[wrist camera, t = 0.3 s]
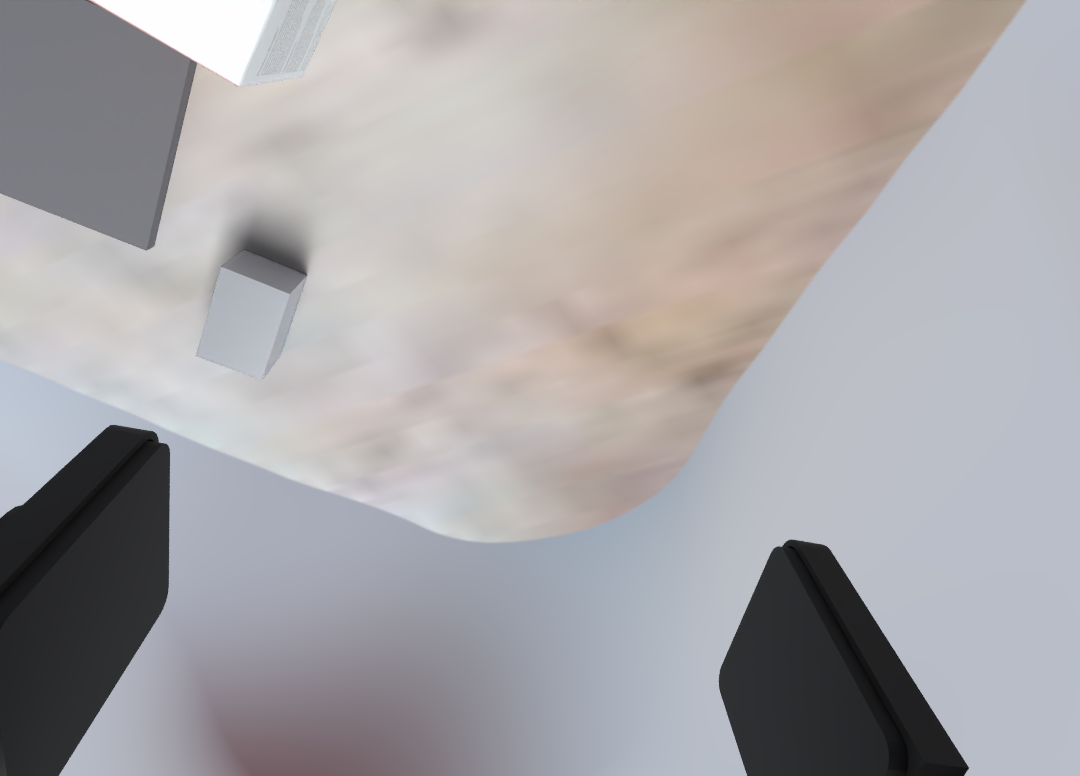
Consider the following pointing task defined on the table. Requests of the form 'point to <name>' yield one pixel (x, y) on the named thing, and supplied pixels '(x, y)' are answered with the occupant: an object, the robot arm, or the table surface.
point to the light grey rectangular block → (250, 314)
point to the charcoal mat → (89, 115)
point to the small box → (233, 33)
